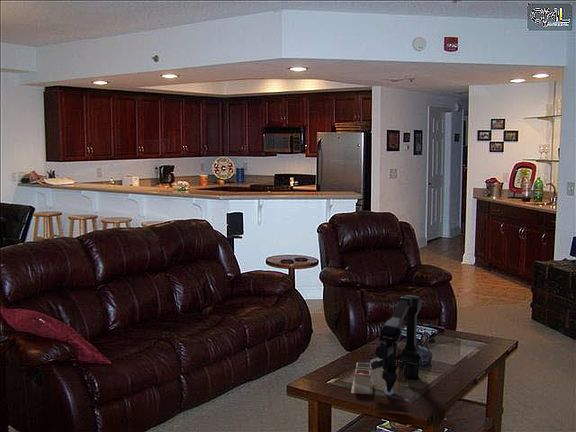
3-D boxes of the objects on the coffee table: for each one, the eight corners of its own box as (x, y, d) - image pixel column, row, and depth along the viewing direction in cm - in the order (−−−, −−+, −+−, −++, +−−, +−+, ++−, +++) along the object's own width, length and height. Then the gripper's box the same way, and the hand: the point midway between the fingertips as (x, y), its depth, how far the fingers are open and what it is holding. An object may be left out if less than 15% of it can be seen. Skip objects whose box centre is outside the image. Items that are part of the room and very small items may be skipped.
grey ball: (393, 394, 283) (393, 385, 282) (393, 397, 279) (393, 388, 278) (383, 393, 283) (384, 384, 283) (383, 396, 279) (384, 387, 279)
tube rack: (353, 379, 299) (354, 361, 298) (373, 381, 297) (374, 363, 296) (351, 394, 281) (351, 374, 280) (371, 396, 280) (372, 376, 279)
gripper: (372, 345, 290) (370, 379, 291) (370, 358, 271) (369, 394, 273) (397, 347, 288) (396, 381, 289) (398, 360, 270) (396, 396, 271)
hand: (388, 388), depth 281 cm, fingers open, 9 cm apart
